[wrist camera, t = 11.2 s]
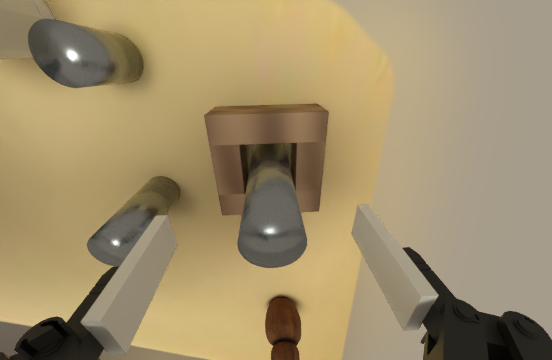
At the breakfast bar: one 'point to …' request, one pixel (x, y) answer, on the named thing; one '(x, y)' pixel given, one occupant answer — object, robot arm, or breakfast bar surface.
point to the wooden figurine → (283, 329)
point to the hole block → (265, 130)
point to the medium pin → (133, 221)
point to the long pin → (271, 211)
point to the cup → (19, 25)
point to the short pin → (83, 54)
